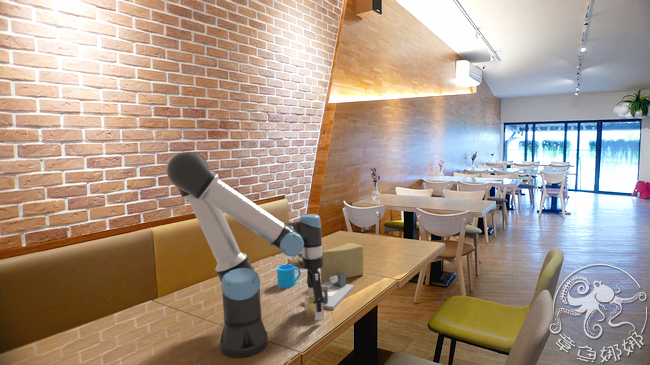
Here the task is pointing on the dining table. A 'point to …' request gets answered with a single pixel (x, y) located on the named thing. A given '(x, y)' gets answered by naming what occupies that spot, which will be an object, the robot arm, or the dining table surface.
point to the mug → (287, 275)
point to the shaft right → (338, 279)
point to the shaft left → (324, 293)
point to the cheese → (342, 261)
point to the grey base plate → (335, 295)
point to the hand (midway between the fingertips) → (315, 312)
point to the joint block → (310, 308)
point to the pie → (297, 260)
